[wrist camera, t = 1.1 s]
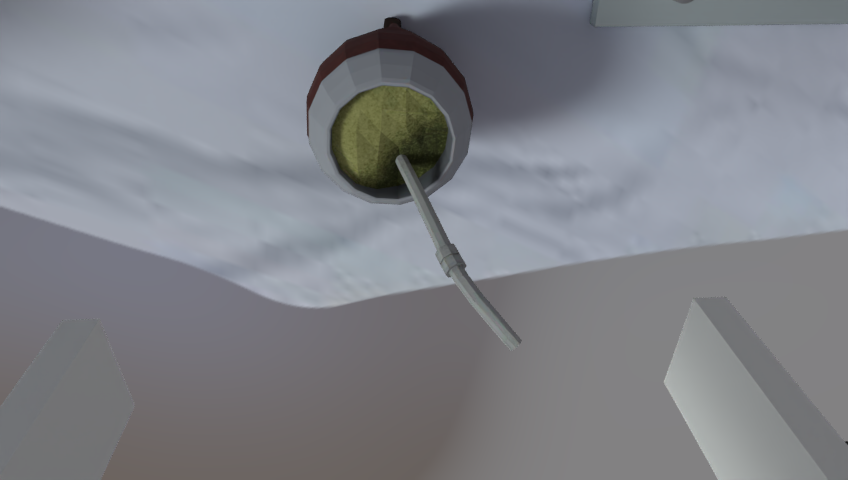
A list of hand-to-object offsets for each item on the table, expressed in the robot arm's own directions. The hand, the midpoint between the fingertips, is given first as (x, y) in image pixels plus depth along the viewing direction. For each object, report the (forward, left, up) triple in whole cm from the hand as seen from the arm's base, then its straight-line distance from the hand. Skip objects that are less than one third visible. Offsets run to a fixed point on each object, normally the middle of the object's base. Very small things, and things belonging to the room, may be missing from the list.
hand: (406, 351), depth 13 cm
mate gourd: (0, 0, -19) cm, 19 cm away
